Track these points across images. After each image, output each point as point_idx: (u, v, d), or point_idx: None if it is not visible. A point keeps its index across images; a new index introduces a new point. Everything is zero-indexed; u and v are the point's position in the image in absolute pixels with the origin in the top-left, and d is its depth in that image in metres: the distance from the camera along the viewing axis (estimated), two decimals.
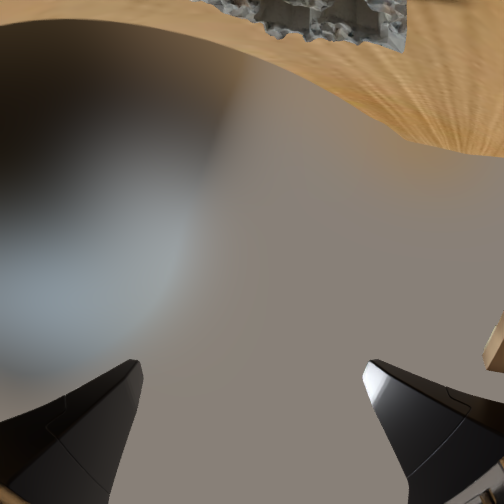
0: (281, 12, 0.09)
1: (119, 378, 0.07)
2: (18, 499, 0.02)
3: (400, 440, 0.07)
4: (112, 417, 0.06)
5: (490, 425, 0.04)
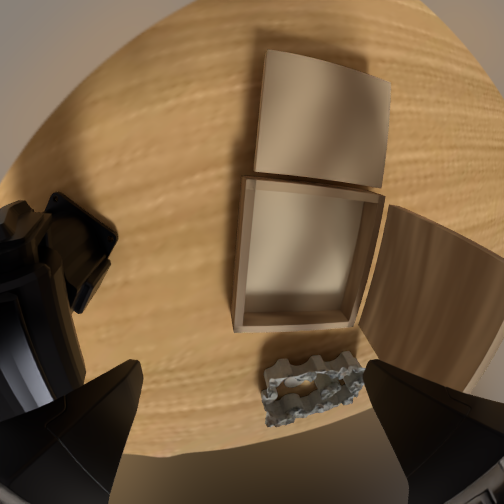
0: (343, 393, 0.27)
1: (119, 378, 0.07)
2: (18, 499, 0.02)
3: (400, 440, 0.07)
4: (112, 417, 0.06)
5: (490, 425, 0.04)
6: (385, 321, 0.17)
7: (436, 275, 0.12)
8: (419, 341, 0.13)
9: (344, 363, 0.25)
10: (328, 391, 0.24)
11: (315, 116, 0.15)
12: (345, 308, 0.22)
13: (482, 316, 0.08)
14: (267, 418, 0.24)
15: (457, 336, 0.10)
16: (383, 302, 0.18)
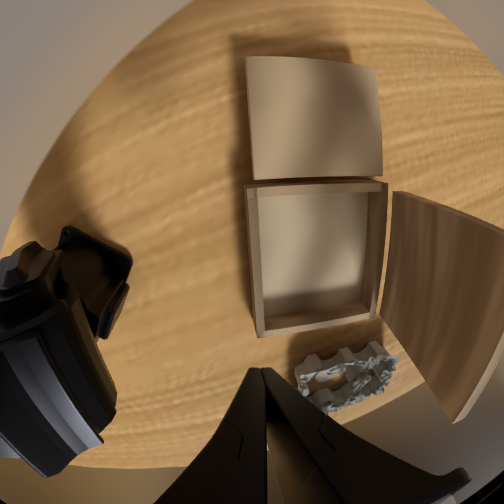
0: (373, 383, 0.26)
1: (261, 389, 0.08)
2: None
3: (277, 465, 0.06)
4: None
5: (342, 489, 0.03)
6: (404, 308, 0.17)
7: (447, 258, 0.12)
8: (438, 325, 0.12)
9: (372, 353, 0.24)
10: (359, 382, 0.24)
11: (305, 115, 0.15)
12: (364, 299, 0.22)
13: (495, 295, 0.08)
14: None
15: (473, 317, 0.09)
16: (400, 289, 0.17)
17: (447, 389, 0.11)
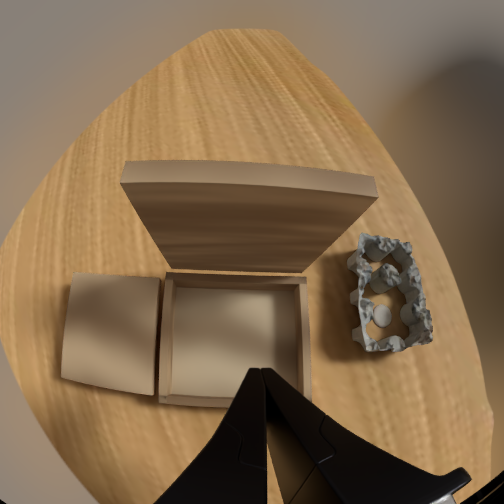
0: (400, 254, 0.25)
1: (261, 388, 0.08)
2: None
3: (277, 465, 0.06)
4: None
5: (342, 489, 0.03)
6: (277, 258, 0.18)
7: (194, 236, 0.14)
8: (268, 235, 0.14)
9: (357, 265, 0.24)
10: (389, 278, 0.22)
11: (105, 344, 0.18)
12: (288, 287, 0.22)
13: (188, 199, 0.11)
14: (422, 341, 0.20)
15: (229, 211, 0.12)
16: (260, 262, 0.19)
17: (335, 214, 0.12)
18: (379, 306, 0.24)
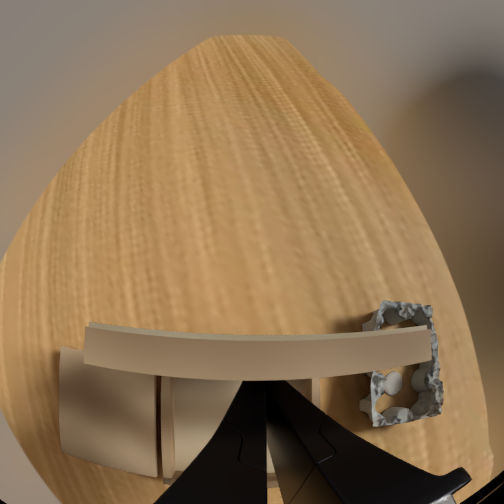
0: (419, 317, 0.22)
1: (261, 388, 0.08)
2: None
3: (277, 465, 0.06)
4: None
5: (342, 489, 0.03)
6: None
7: None
8: None
9: None
10: None
11: (103, 427, 0.14)
12: None
13: None
14: (430, 413, 0.16)
15: None
16: None
17: None
18: (391, 374, 0.20)
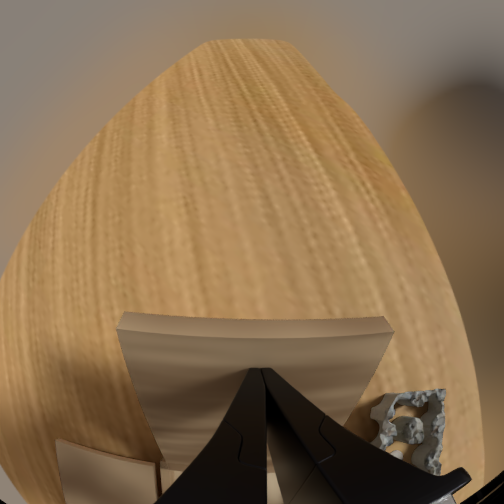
0: (430, 398, 0.18)
1: (261, 388, 0.08)
2: None
3: (277, 465, 0.06)
4: None
5: (342, 489, 0.03)
6: None
7: (194, 418, 0.11)
8: None
9: (382, 421, 0.17)
10: (412, 437, 0.15)
11: None
12: None
13: (190, 361, 0.09)
14: None
15: (236, 379, 0.09)
16: None
17: (353, 367, 0.10)
18: (393, 453, 0.16)
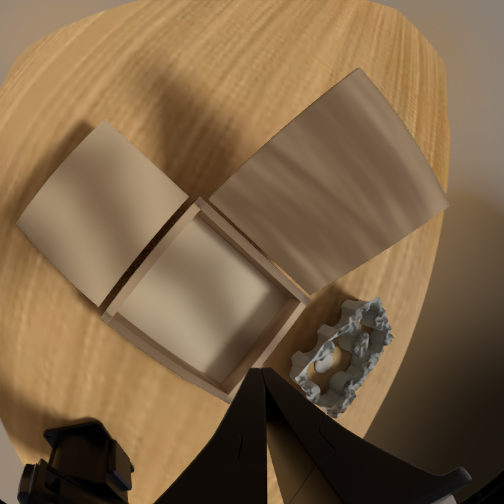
0: (378, 337, 0.25)
1: (261, 388, 0.08)
2: None
3: (277, 464, 0.06)
4: None
5: (342, 489, 0.03)
6: (326, 248, 0.17)
7: (317, 157, 0.14)
8: (366, 199, 0.15)
9: (351, 312, 0.24)
10: (359, 346, 0.23)
11: (84, 223, 0.14)
12: (288, 294, 0.21)
13: (374, 116, 0.12)
14: (329, 411, 0.21)
15: (378, 149, 0.13)
16: (305, 246, 0.18)
17: (422, 205, 0.14)
18: (329, 354, 0.24)
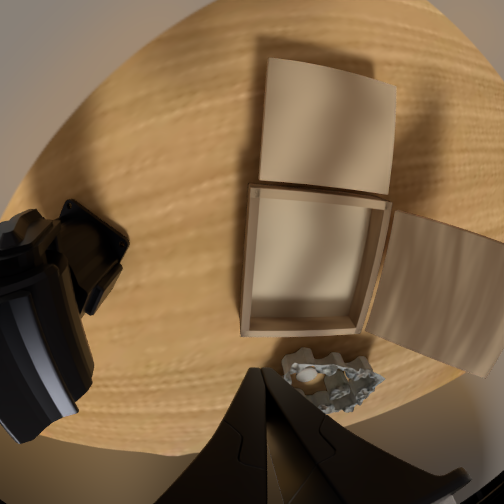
0: (345, 400, 0.26)
1: (261, 388, 0.08)
2: None
3: (277, 464, 0.06)
4: None
5: (342, 489, 0.03)
6: (411, 318, 0.18)
7: (472, 270, 0.14)
8: (461, 322, 0.15)
9: (360, 366, 0.24)
10: (339, 391, 0.24)
11: (318, 123, 0.15)
12: (353, 314, 0.22)
13: None
14: None
15: (498, 306, 0.13)
16: (404, 303, 0.18)
17: (476, 360, 0.14)
18: (315, 374, 0.26)
